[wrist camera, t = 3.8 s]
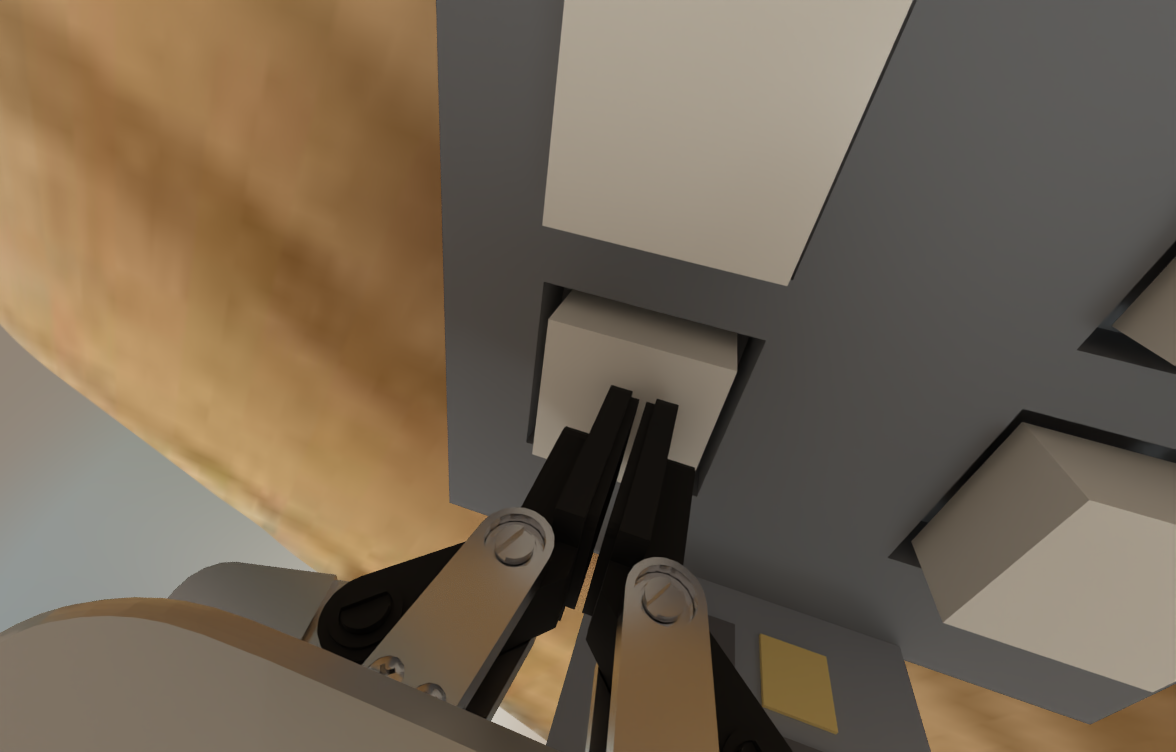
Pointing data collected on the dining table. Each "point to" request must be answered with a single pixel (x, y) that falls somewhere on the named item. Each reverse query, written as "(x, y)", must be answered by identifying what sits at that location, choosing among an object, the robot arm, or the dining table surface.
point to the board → (852, 303)
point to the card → (785, 679)
